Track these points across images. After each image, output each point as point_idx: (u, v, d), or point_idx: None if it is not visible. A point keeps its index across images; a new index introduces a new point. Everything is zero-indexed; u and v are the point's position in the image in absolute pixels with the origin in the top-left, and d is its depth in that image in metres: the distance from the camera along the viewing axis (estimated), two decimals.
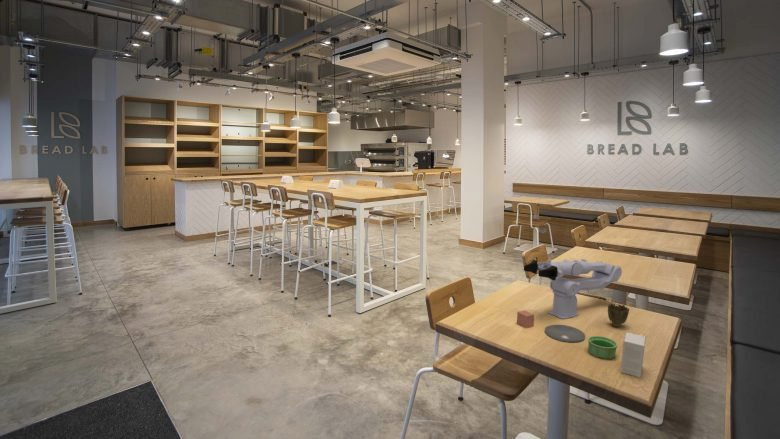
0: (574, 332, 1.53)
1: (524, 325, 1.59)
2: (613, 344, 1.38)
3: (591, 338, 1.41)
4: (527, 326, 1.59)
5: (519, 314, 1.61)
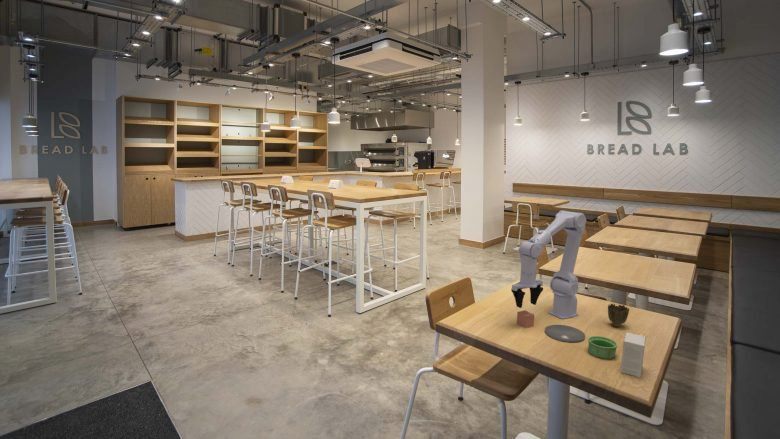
0: (574, 332, 1.53)
1: (524, 325, 1.59)
2: (613, 344, 1.38)
3: (591, 338, 1.41)
4: (527, 326, 1.59)
5: (519, 314, 1.61)
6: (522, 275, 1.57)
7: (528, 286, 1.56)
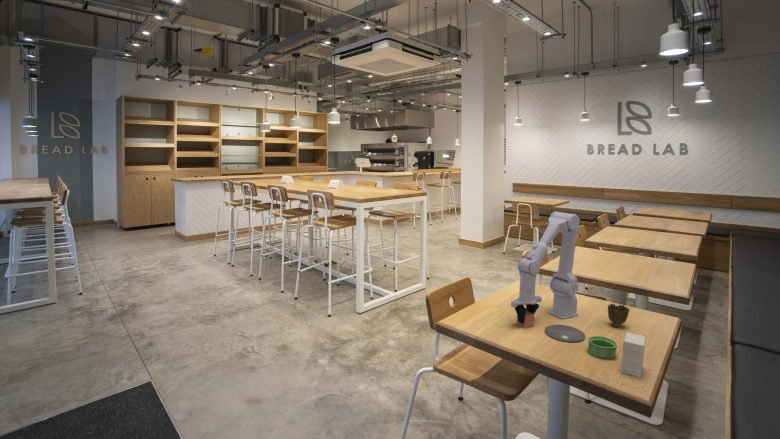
0: (574, 332, 1.53)
1: (524, 324, 1.59)
2: (613, 344, 1.38)
3: (591, 338, 1.41)
4: (527, 326, 1.59)
5: None
6: (521, 292, 1.58)
7: (527, 303, 1.57)
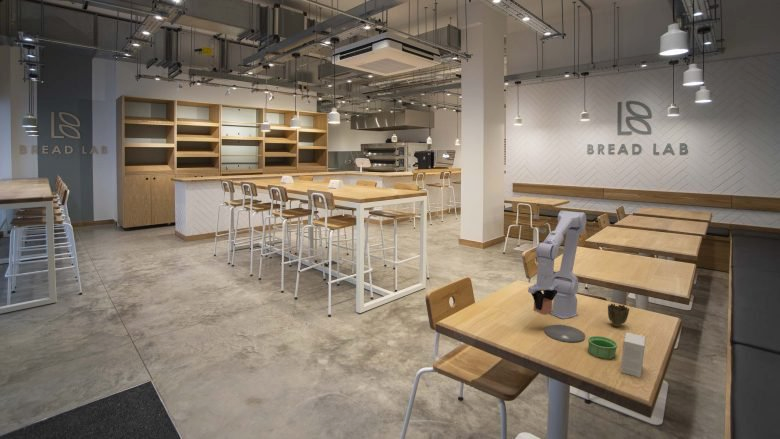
0: (574, 332, 1.53)
1: (542, 311, 1.55)
2: (613, 344, 1.38)
3: (591, 338, 1.41)
4: (545, 312, 1.54)
5: None
6: (539, 277, 1.54)
7: (545, 288, 1.52)
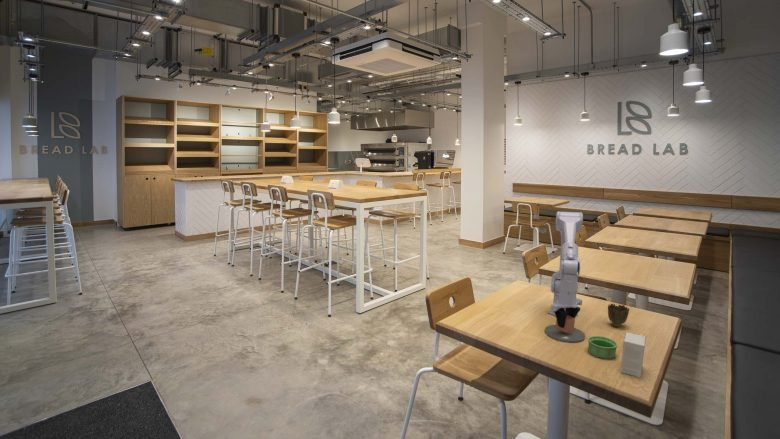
0: (574, 332, 1.53)
1: (564, 329, 1.51)
2: (613, 344, 1.38)
3: (591, 338, 1.41)
4: (568, 330, 1.50)
5: None
6: (562, 294, 1.50)
7: (568, 306, 1.48)
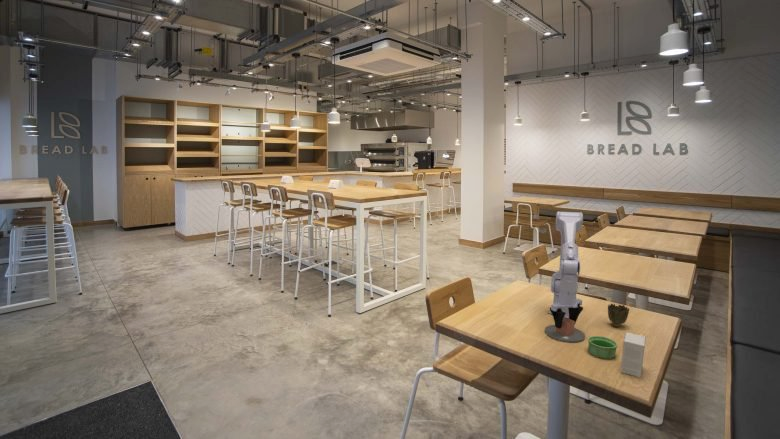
0: (574, 332, 1.53)
1: (564, 332, 1.51)
2: (613, 344, 1.38)
3: (591, 338, 1.41)
4: (567, 333, 1.50)
5: None
6: (562, 294, 1.50)
7: (568, 306, 1.48)
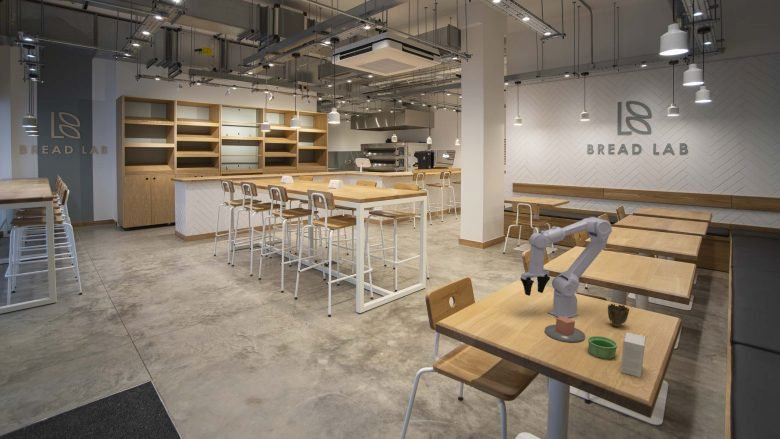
0: (574, 332, 1.53)
1: (564, 332, 1.51)
2: (613, 344, 1.38)
3: (591, 338, 1.41)
4: (567, 333, 1.50)
5: (558, 320, 1.53)
6: (531, 265, 1.67)
7: (536, 275, 1.66)
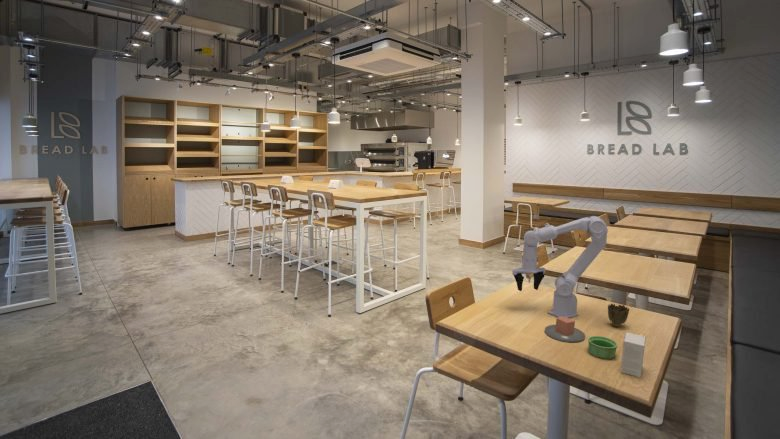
0: (574, 332, 1.53)
1: (564, 332, 1.51)
2: (613, 344, 1.38)
3: (591, 338, 1.41)
4: (567, 333, 1.50)
5: (558, 320, 1.53)
6: (523, 261, 1.73)
7: (527, 271, 1.71)
